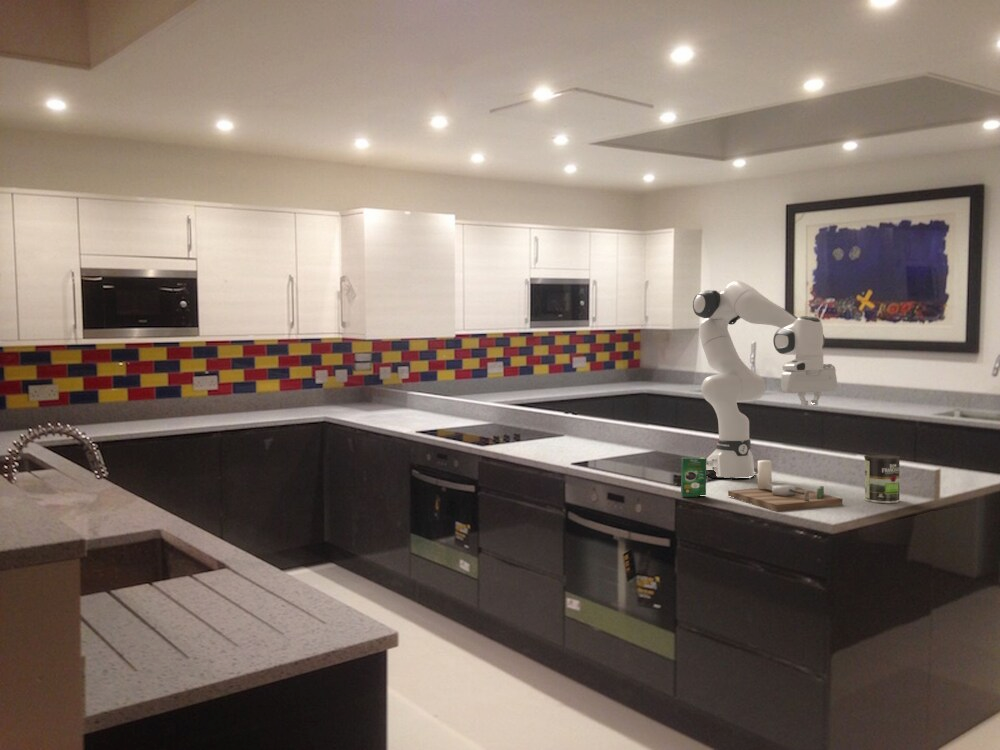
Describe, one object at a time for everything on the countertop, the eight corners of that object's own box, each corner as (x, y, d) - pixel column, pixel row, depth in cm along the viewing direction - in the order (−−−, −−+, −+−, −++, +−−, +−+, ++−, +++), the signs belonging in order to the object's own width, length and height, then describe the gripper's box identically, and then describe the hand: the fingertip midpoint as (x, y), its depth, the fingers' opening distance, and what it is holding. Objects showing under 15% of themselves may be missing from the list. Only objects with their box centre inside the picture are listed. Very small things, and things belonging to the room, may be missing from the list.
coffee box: (705, 495, 285) (704, 456, 285) (706, 497, 283) (706, 457, 282) (680, 496, 286) (680, 457, 285) (682, 497, 283) (682, 458, 282)
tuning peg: (751, 488, 284) (751, 460, 284) (769, 486, 286) (769, 459, 286) (794, 499, 263) (793, 470, 263) (813, 498, 265) (812, 468, 265)
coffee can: (907, 502, 267) (907, 457, 267) (879, 504, 265) (879, 459, 264) (884, 496, 277) (883, 453, 277) (857, 498, 274) (857, 455, 274)
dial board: (728, 496, 282) (728, 481, 282) (789, 491, 290) (789, 476, 290) (776, 511, 258) (776, 495, 258) (842, 505, 265) (842, 489, 265)
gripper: (828, 363, 293) (829, 403, 294) (778, 365, 287) (778, 406, 287) (841, 363, 287) (841, 404, 288) (790, 365, 281) (790, 407, 281)
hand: (809, 405), depth 288 cm, fingers open, 3 cm apart
